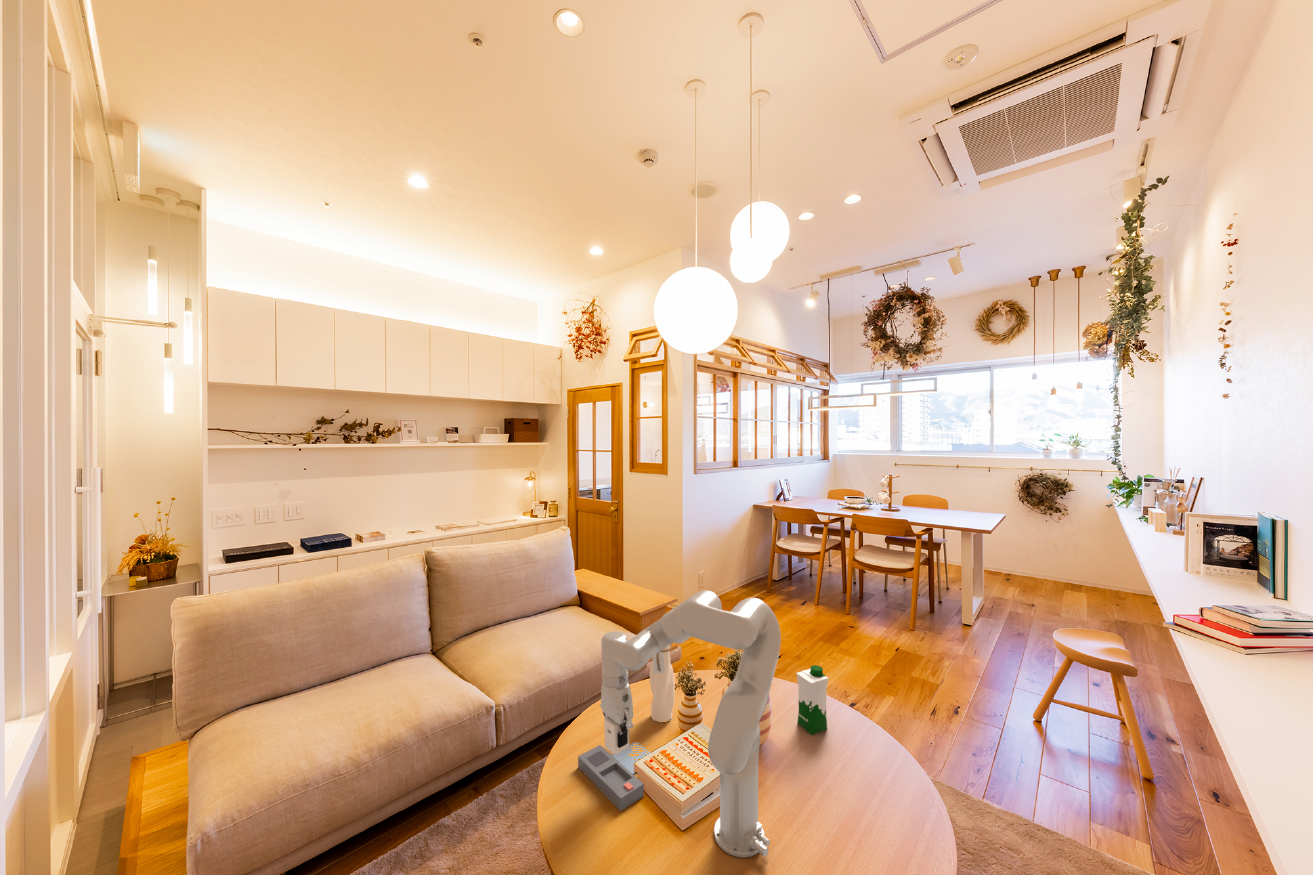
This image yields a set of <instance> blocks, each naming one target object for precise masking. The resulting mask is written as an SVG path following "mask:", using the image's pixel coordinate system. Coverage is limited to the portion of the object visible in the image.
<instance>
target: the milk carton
mask: <svg viewBox="0 0 1313 875" xmlns="http://www.w3.org/2000/svg"><path fill="white" fill-rule="evenodd" d="M823 672H824V671H823V667H822V666H820V665H815V664H814V665H811V666H810V668H808V669H805V670H801V671H799V672H796V681H797V687H798V714H797V725H799V727H801V728H802V729H804V731H806V732H807V733H808V734H809V735H811V736H812V735H816V734H818V733H821V732H824V731H827V730H828V720H827V690H828V689H827V688H828V683H829V677H828V676H826V675H825V674H824V673H823Z"/></svg>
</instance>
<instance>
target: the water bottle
mask: <svg viewBox="0 0 1313 875" xmlns="http://www.w3.org/2000/svg"><path fill="white" fill-rule="evenodd" d="M672 648H673V647H672V644H670V645H669V646H667V647H665V648H664V649H662V650H661V651H660V652H658V653H657V654H656V655H654V656H653V657H652V658H651V660H652V662H651V664H650V668H649V684H650V690H651V693H652V700H651V707H650V709H651V710H650V712H651V713H650V718H651V717H652V718H651V719H654V720H655V721H659V722H660V721H661V722H664V721H669V720H670V719H671V720H672V719H673V717H672V716H673V708H674V703H675V688H676V686H675V674H674V668H673V666H672V663H671V653H670V651H671V650H672ZM654 720H653V721H654ZM671 720H670V721H671ZM655 721H654V722H655ZM670 721H669V722H670Z"/></svg>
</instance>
